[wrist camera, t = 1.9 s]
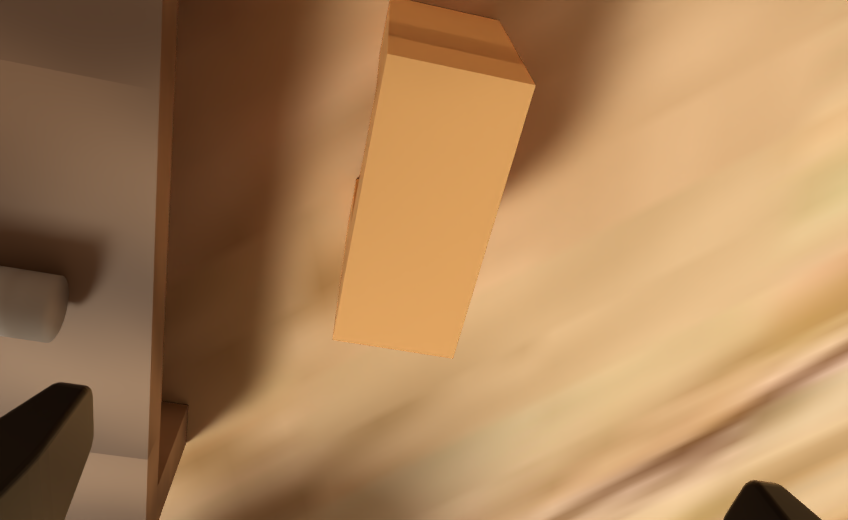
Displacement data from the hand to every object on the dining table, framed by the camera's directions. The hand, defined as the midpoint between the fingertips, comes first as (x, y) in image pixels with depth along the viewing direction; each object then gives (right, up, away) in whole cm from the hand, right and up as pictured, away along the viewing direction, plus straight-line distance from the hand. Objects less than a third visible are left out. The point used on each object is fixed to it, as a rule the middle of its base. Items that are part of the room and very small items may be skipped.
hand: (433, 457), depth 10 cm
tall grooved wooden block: (0, +6, +11) cm, 13 cm away
